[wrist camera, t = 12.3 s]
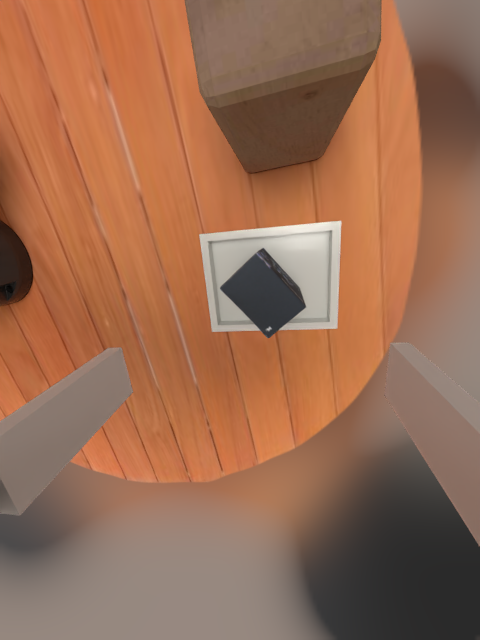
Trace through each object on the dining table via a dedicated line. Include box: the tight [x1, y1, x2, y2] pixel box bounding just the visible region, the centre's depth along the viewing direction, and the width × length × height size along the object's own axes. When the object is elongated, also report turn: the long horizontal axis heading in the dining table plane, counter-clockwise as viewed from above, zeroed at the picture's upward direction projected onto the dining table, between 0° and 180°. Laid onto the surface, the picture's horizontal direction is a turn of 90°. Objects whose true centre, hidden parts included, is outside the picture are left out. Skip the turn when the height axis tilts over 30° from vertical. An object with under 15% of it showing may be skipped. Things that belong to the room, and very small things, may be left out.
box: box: [220, 248, 306, 338], centre depth 31 cm, size 8×6×11 cm
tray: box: [199, 221, 341, 332], centre depth 36 cm, size 18×14×3 cm
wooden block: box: [185, 0, 381, 173], centre depth 21 cm, size 10×10×20 cm
